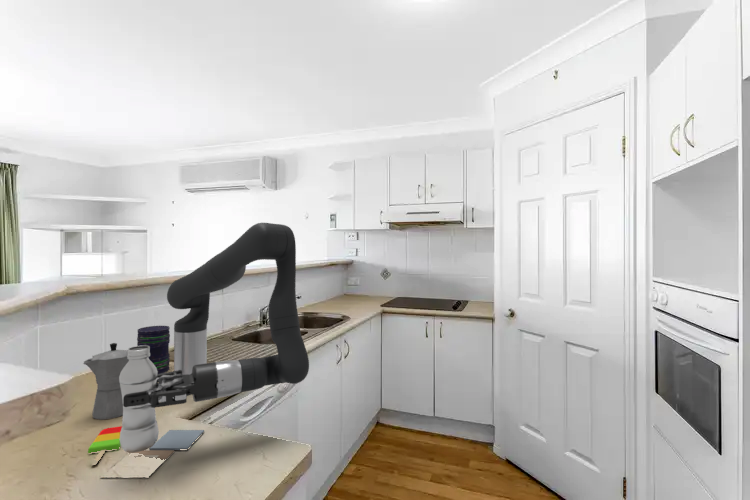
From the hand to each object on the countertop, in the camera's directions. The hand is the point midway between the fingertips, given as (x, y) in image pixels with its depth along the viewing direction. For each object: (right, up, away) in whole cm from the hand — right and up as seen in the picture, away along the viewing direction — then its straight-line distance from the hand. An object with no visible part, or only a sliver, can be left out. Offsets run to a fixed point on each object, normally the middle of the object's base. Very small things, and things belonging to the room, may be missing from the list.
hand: (125, 394), depth 73 cm
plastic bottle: (+2, -11, +1) cm, 12 cm away
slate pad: (+5, -14, +10) cm, 18 cm away
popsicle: (-9, -15, +7) cm, 19 cm away
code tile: (+2, -14, +1) cm, 14 cm away
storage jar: (-29, -14, +58) cm, 66 cm away
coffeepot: (-19, -14, +26) cm, 35 cm away
